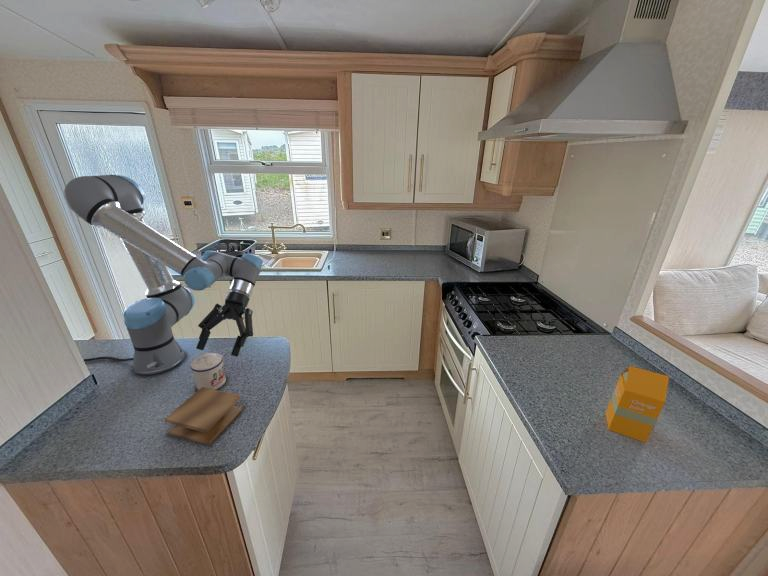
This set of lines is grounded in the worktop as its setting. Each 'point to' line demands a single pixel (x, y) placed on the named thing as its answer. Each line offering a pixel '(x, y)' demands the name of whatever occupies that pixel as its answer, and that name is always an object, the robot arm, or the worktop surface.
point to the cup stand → (204, 415)
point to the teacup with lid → (208, 371)
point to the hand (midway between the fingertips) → (216, 352)
